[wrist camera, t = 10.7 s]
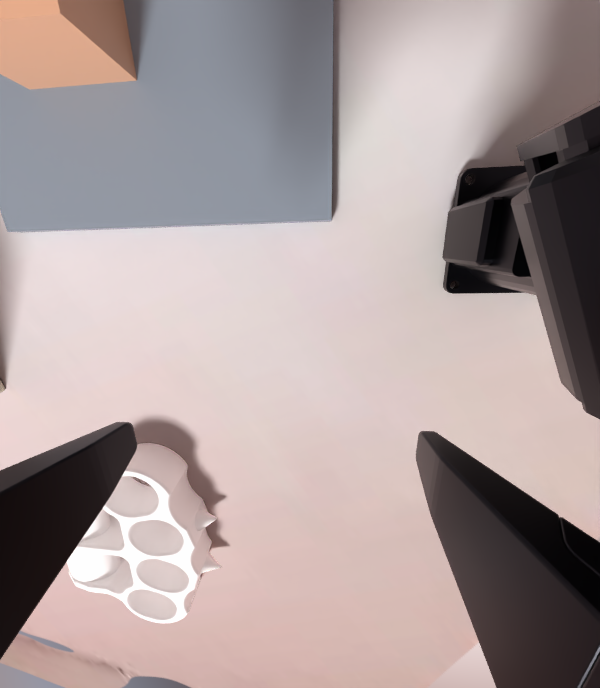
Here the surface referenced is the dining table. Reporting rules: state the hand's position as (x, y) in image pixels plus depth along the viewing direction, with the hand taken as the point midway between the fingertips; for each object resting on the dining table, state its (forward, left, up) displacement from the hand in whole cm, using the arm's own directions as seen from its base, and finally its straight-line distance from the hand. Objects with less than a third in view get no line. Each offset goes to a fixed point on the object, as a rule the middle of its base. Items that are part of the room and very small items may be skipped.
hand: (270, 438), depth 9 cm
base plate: (+8, -15, -11) cm, 20 cm away
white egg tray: (+15, +18, -12) cm, 26 cm away
